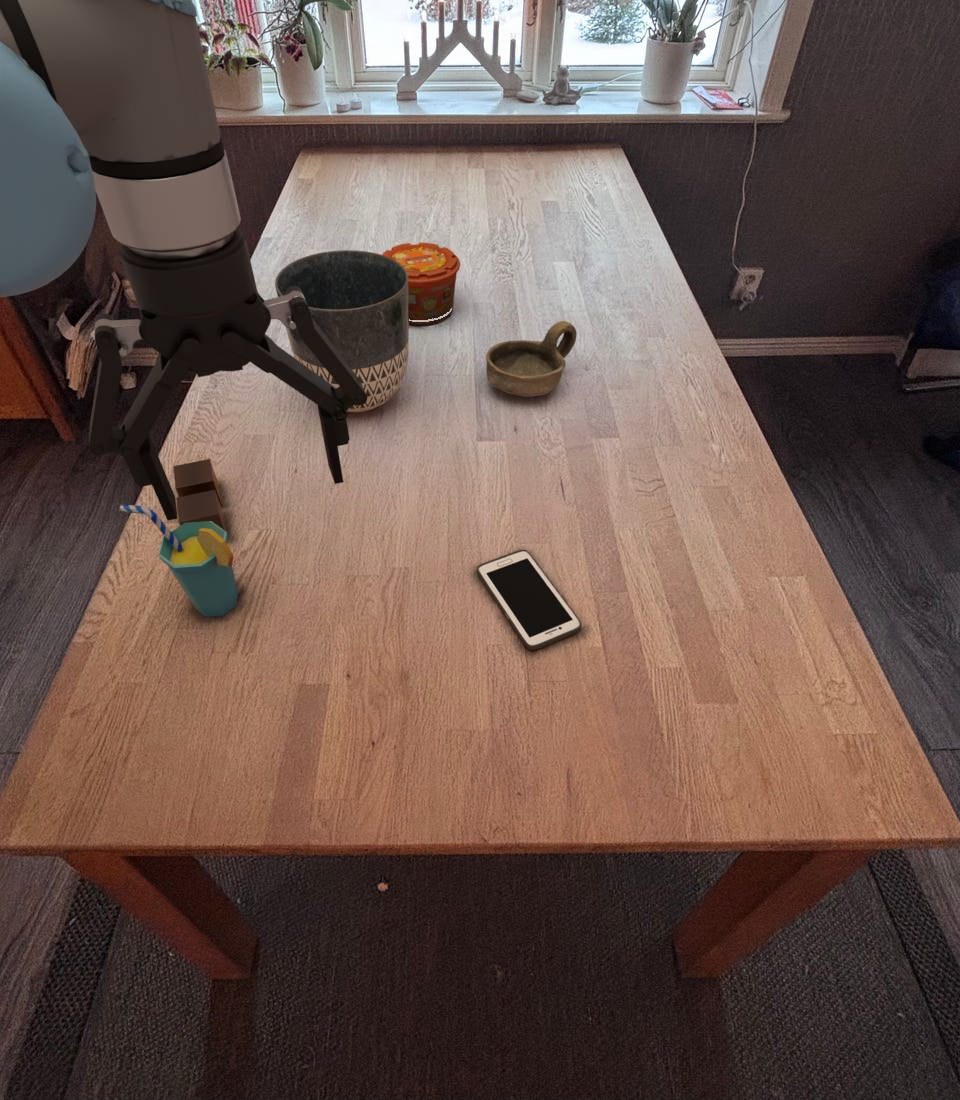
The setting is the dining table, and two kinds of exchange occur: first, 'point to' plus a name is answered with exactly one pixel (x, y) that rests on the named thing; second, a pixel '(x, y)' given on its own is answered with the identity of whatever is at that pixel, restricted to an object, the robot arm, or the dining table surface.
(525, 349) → the bowl
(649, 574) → the dining table surface
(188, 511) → the walnut block near
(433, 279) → the food container
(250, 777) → the dining table surface
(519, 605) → the cell phone
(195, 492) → the walnut block far
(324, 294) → the planter
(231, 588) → the cup
